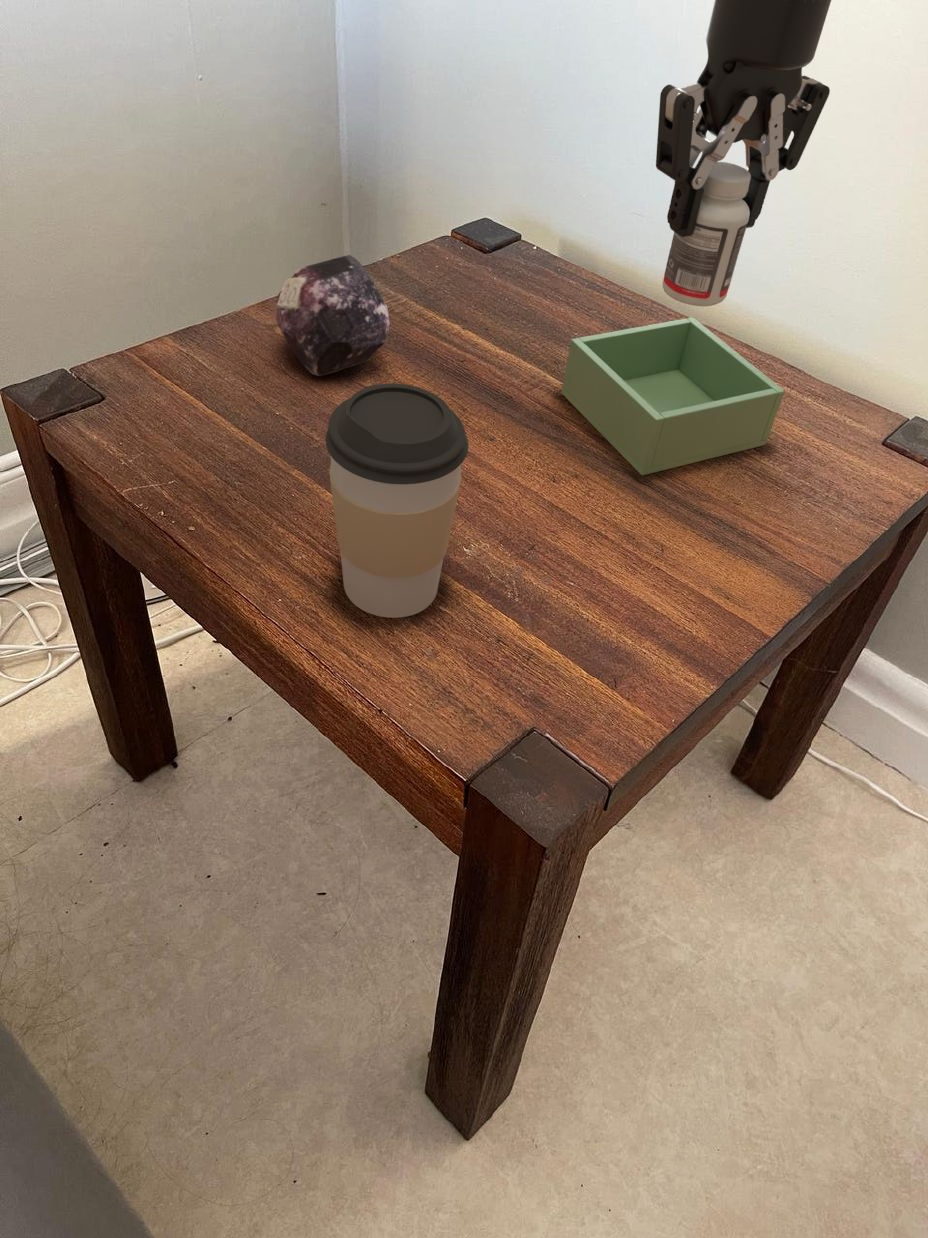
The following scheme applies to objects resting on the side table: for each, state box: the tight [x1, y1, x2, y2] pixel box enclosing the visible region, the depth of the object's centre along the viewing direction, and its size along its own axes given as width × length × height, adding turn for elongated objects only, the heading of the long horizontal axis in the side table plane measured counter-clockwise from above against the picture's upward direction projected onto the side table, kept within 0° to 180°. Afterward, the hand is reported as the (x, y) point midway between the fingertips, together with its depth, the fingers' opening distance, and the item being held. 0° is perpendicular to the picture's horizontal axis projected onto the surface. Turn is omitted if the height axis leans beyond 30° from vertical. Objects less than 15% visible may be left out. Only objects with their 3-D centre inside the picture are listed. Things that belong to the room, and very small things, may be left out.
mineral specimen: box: [275, 254, 390, 377], centre depth 88 cm, size 10×10×10 cm
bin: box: [560, 316, 786, 476], centre depth 87 cm, size 14×14×6 cm
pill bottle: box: [662, 161, 751, 307], centre depth 77 cm, size 5×5×10 cm
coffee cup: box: [324, 383, 469, 619], centre depth 65 cm, size 9×9×15 cm
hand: (711, 227), depth 76 cm, fingers closed on pill bottle, 5 cm apart
